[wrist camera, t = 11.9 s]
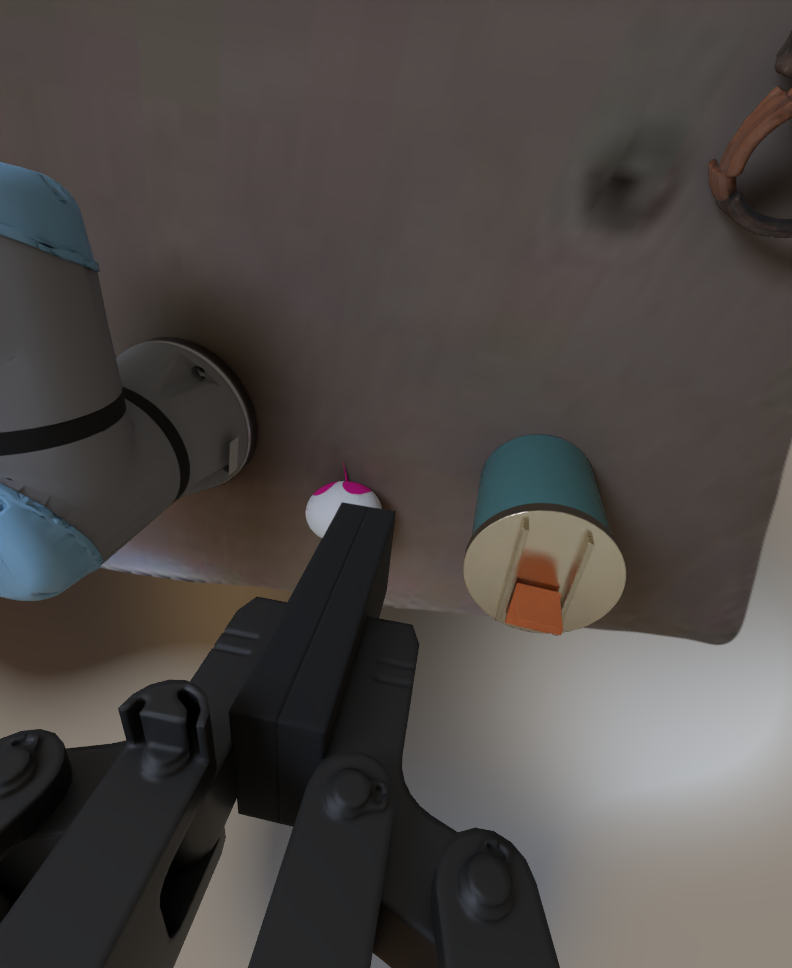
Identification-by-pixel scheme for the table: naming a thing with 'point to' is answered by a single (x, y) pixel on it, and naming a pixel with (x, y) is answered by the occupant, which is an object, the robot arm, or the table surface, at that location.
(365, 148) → the table surface
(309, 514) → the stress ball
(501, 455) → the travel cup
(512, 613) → the slider
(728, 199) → the pottery mug
